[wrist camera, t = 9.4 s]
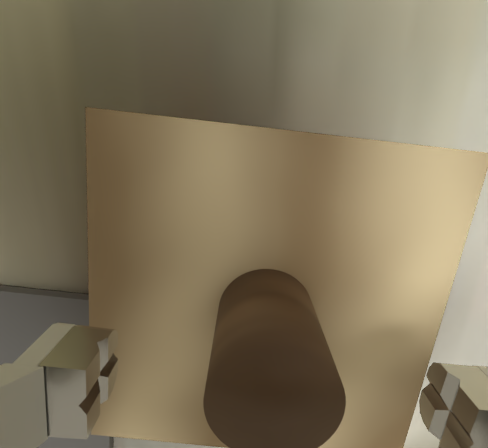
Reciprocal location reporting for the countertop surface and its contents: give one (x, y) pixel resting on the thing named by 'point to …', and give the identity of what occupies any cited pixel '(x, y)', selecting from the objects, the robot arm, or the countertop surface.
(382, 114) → the countertop surface
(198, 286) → the lid
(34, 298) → the mat
